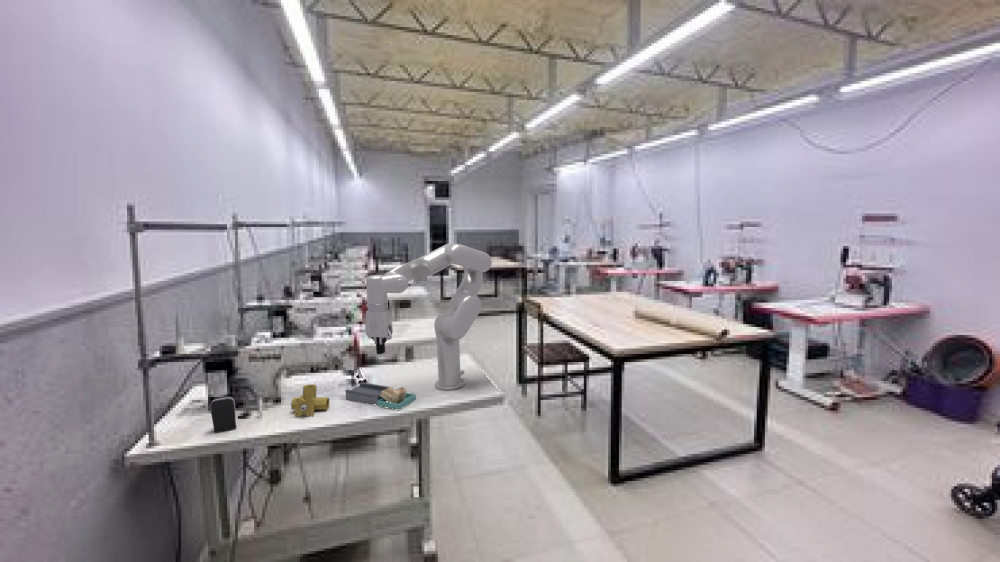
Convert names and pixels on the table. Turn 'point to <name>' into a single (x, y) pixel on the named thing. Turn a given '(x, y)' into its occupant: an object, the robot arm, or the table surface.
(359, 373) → the hinge
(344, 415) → the table surface
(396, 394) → the chip
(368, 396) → the rail plate
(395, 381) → the table surface
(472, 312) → the robot arm
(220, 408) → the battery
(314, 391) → the ball valve
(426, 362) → the table surface
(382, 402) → the tray
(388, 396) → the chip
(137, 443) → the table surface
